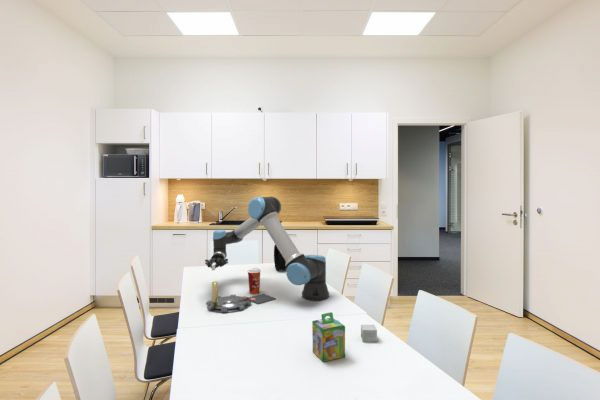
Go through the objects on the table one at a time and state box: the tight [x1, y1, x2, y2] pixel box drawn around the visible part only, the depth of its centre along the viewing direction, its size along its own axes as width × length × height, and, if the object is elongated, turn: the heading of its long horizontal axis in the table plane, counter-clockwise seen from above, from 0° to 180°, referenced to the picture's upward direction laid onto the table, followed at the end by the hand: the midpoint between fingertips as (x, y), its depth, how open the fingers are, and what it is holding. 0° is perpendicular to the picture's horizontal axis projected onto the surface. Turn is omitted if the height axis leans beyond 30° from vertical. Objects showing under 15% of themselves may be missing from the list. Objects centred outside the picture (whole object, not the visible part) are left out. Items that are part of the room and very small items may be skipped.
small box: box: [360, 324, 378, 343], centre depth 139 cm, size 6×6×5 cm
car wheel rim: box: [273, 244, 287, 272], centre depth 259 cm, size 20×10×20 cm, turn 14°
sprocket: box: [205, 281, 253, 312], centre depth 181 cm, size 23×23×13 cm
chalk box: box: [311, 312, 346, 363], centre depth 127 cm, size 9×9×15 cm
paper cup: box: [247, 267, 262, 295], centre depth 202 cm, size 8×8×14 cm
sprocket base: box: [206, 304, 251, 314], centre depth 181 cm, size 22×22×1 cm
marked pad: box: [248, 293, 277, 305], centre depth 191 cm, size 12×12×1 cm
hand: (213, 267), depth 182 cm, fingers closed
